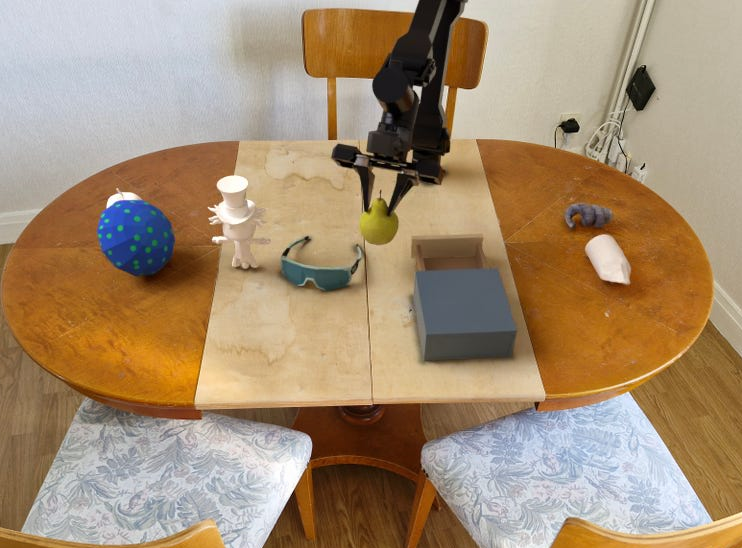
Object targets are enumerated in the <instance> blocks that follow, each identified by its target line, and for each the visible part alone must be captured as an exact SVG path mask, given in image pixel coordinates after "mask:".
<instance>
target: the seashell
mask: <svg viewBox="0 0 742 548" xmlns="http://www.w3.org/2000/svg"><path fill="white" fill-rule="evenodd" d="M563 215H564V218H565V222H566V224H567V226H568V227H569V229H573V230H574V229H575V227H576V226H577V225H576V224H577V223H576V222H575V221H574V220H573V218H574V217H575V216H577V215H579V216H580V217H581V218H580V221H581V222H580V223H581V225H582V226H583V227H586V228H590V227H591V226H593V227H594V228H595V229H596V228H597V229H599V228H604V227H606V225H607V224H609V223H611V222H612V220H614V217H615V215H614V212H613V211H612V209H610V208H609V207H607V206H600V205H598V204H591V205H590V204H589V203H585V202H577V203H570V205H569V206H568V207H567V208H566V209H565V211H564V212H563Z"/></svg>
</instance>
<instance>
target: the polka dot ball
mask: <svg viewBox="0 0 742 548" xmlns="http://www.w3.org/2000/svg"><path fill="white" fill-rule="evenodd" d="M96 229H97V230H96V235H97V236H96V237H97V239H98V242H99V243H98V244H99V247H100V249H101V253H102V254H103V256H104V257H105V258H106V259H107V260H108V262H110V263H111V265H112V266H113V267H114V268H116V269H118V270H120V271H122V272H124V273H126V274H129V275H132V276H133V277H135V278H137V277H144V276H152V275H155V274H156V273H158V272H159V271H160V270H161V269H162V268H163V267H164V266H165V265H167V264H168V263H169V262H170V261H171V259H172V256H173V254H174V253H173V252H174V248H175V243H176V237H175V232H174V230H173V226H172V223H171V221H170V220H169V219H168V217H167V216H166V215H165V213H163V211H162V210H161V209H160V208H159V207H157V206H156V205H153V204H151V203H149V202H147V201H145V200H143V199H142V200H120V201H116V202H115V203H113V204H112V205H111V206H109V207H108V208H107V207H106V209H104V210H103V211H102V212H101V214H100V218H99V221H98V226H97V228H96Z"/></svg>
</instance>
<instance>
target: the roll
mask: <svg viewBox="0 0 742 548" xmlns="http://www.w3.org/2000/svg"><path fill="white" fill-rule="evenodd" d="M584 252H585V254H586V256H587V257H588V259H589V261H590V263H591V264H592V266H593V268H594V270H595V272H596V274H597V276H598V277H599V280H601V281H606V282H610V283H618V284H622V285H625V286H630V285H631V280H630V276H631V272H632V267H631V264H630V262H629V260H628V258H627V257H626V255H625V254H624V251H623V249H622V248H621V246H619V244H618V242H617V240H616V239H615V238H614V237H613V236H612V235H609V234H599V235H597V236H595V237H593V238H591V239H590V240H588V242H587V244H586V245H585V249H584Z"/></svg>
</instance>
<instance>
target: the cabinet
mask: <svg viewBox="0 0 742 548" xmlns="http://www.w3.org/2000/svg"><path fill="white" fill-rule="evenodd" d="M413 281H414V282H413V294H412V298H413V299H412V300H413V304H414V305H413V306H414V310H415V317H416V323H417V329H418V333H419V334H418V335H419V340H420V346H421V353H422V359H423V361H424V362H426V361H427V362H429V361H448V360H470V359H471V360H472V359H490V358H491V359H493V358H511V357H512V354H513V350H514V346H515V341H516V338H517V333H518V329H517V325H516V323H515V320H514V316H513V313H512V309H511V306H510V303H509V300H508V297H507V293H506V290H505V286H504V283H503V281H502V276H501V273H500V270H499V267H493V268H492V267H490V268H489V267H488V269H461V270H433V271H417V270H415V271H414V280H413Z"/></svg>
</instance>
